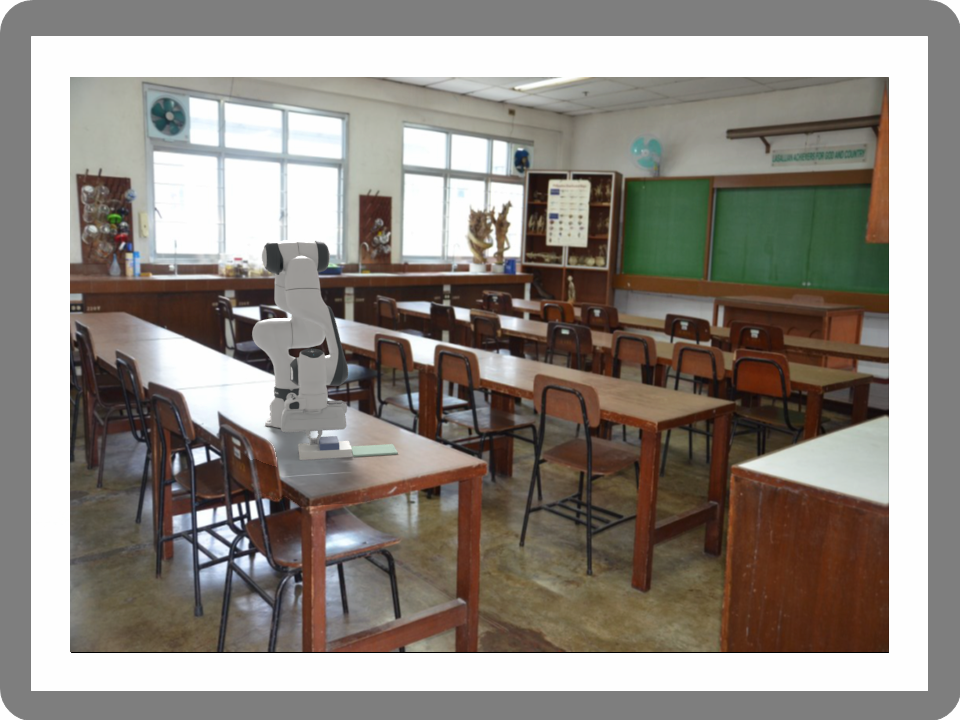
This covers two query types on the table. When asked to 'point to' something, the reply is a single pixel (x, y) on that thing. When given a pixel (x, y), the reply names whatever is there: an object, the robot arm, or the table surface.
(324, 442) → the tile
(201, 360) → the table surface
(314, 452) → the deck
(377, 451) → the mat
